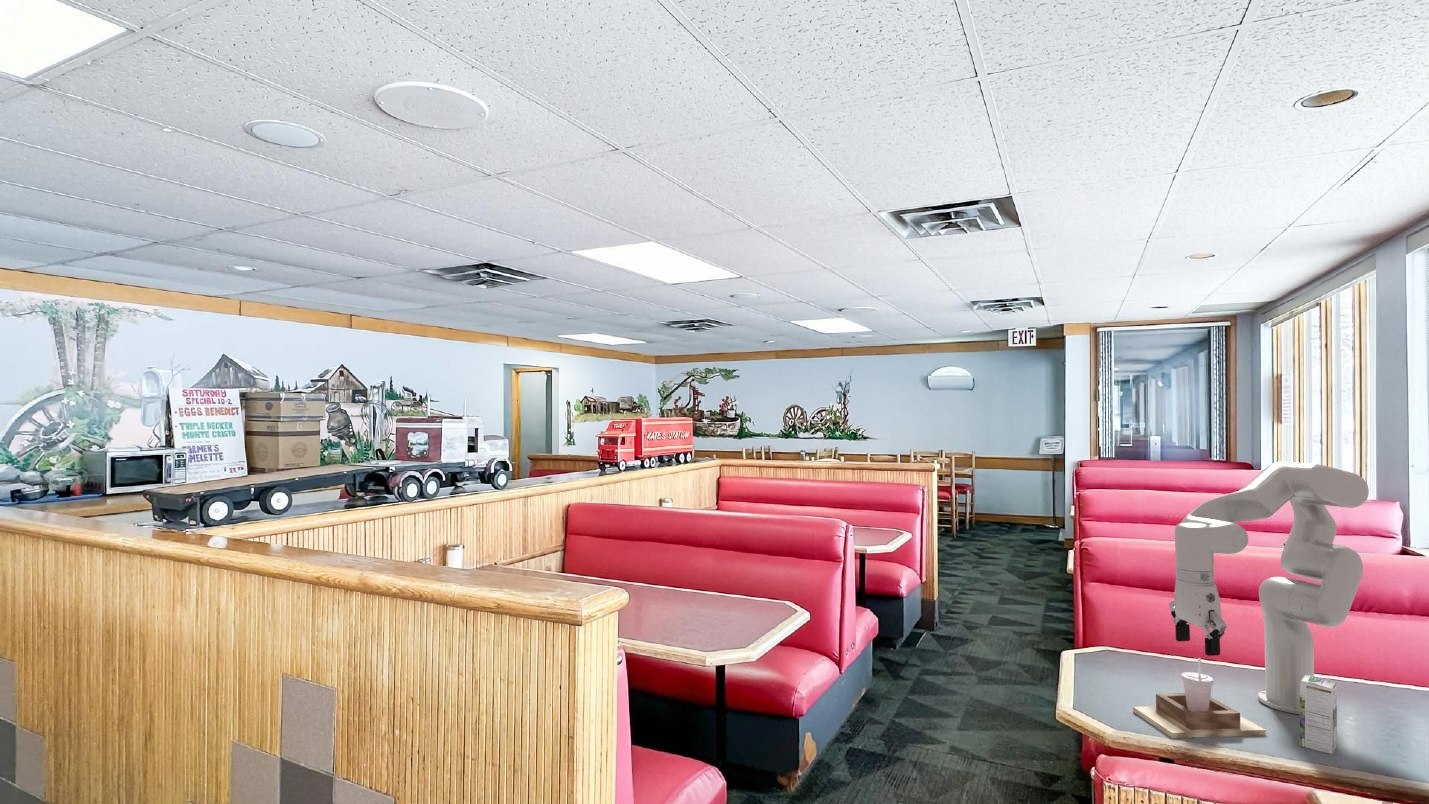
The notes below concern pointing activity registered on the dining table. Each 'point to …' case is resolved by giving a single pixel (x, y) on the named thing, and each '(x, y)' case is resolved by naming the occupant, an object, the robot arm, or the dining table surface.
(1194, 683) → the smoothie
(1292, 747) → the dining table surface
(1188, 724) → the socket stand
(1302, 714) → the syrup box
